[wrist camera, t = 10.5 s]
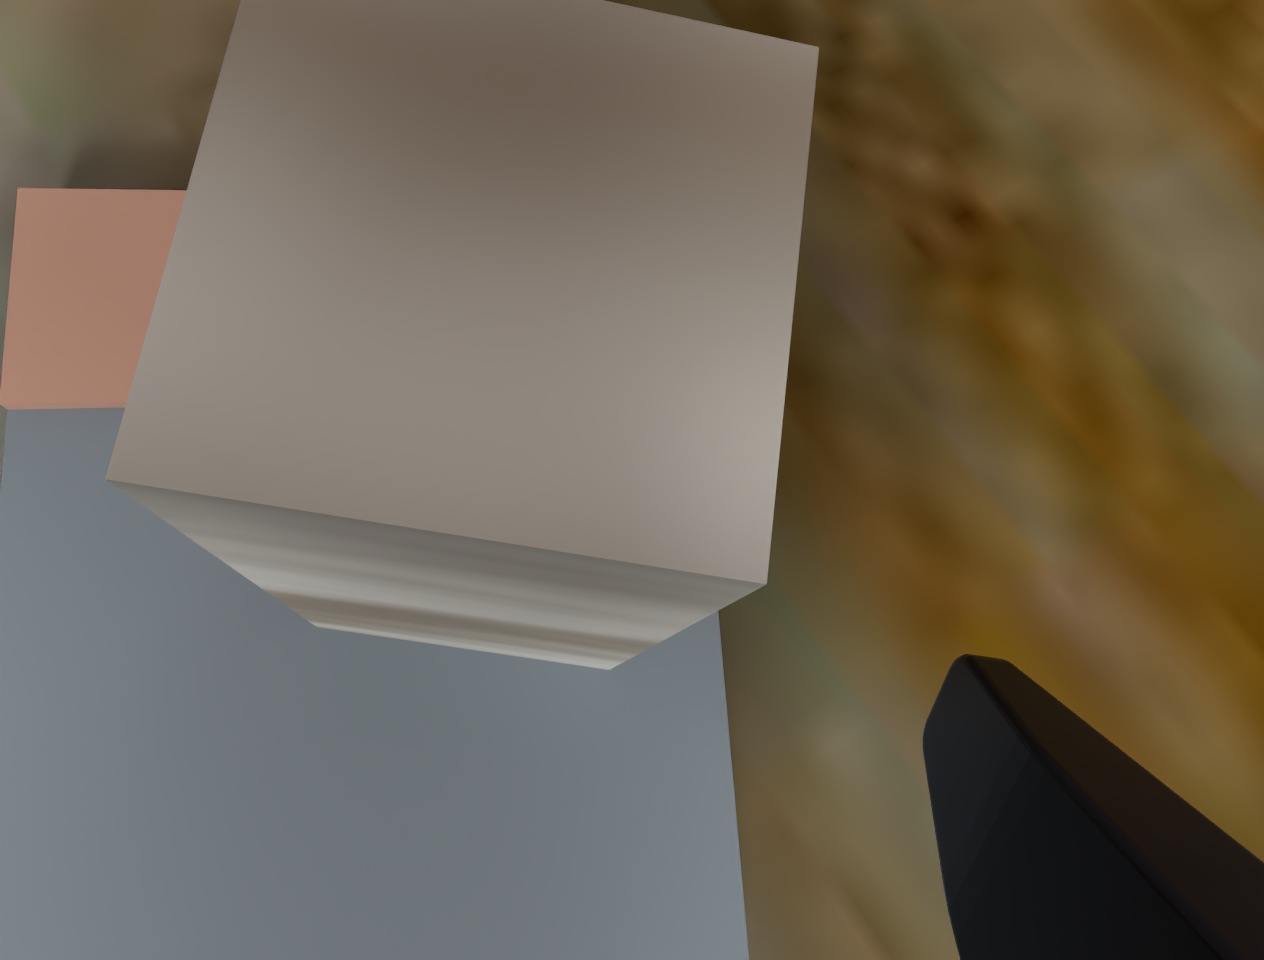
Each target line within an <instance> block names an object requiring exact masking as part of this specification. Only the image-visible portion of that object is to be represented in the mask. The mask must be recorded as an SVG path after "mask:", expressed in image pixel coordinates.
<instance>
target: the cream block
mask: <svg viewBox="0 0 1264 960" xmlns="http://www.w3.org/2000/svg"><path fill="white" fill-rule="evenodd" d="M818 53H819V47H816V46H811V45H807V44H802V43H797V42H793V41H788V40H784V39H779V38H775V37H770V36H765V35H761V34H756V33H752V32H747V31H742V30H738V29H733V28H729V27H724V26H720V25H715V24H710V23H706V22H701V21H697V20H692V19H688V18H683V17H678V16H674V15H669V14H665V13H660V12H655V11H651V10H646V9H642V8H637V7H633V6H628V5H623V4H619V3H614V2H610V1H605V0H241V1H240V4H239V8H238V11H237V15H236V18H235V22H234V25H233V29H232V32H231V36H230V39H229V43H228V46H227V50H226V54H225V57H224V61H223V64H222V68H221V71H220V75H219V78H218V82H217V85H216V89H215V92H214V96H213V99H212V103H211V106H210V110H209V114H208V117H207V121H206V124H205V128H204V131H203V135H202V138H201V142H200V145H199V149H198V152H197V156H196V159H195V163H194V167H193V170H192V174H191V177H190V181H189V184H188V188H187V191H186V195H185V198H184V202H183V205H182V209H181V212H180V216H179V220H178V223H177V227H176V230H175V234H174V237H173V241H172V244H171V248H170V251H169V255H168V258H167V262H166V265H165V269H164V272H163V276H162V280H161V283H160V287H159V290H158V294H157V297H156V301H155V304H154V308H153V311H152V315H151V318H150V322H149V325H148V329H147V333H146V336H145V340H144V343H143V347H142V350H141V354H140V357H139V361H138V364H137V368H136V371H135V375H134V378H133V382H132V385H131V389H130V393H129V396H128V400H127V403H126V407H125V410H124V414H123V417H122V421H121V424H120V428H119V431H118V435H117V438H116V442H115V446H114V449H113V453H112V456H111V460H110V463H109V467H108V470H107V474H106V477H105V480H107V481H108V482H110V483H111V484H113V485H114V486H115V487H117V488H118V489H120V490H121V491H123V492H124V493H125V494H127V495H128V496H130V497H131V498H133V499H134V500H135V501H137V502H138V503H140V504H141V505H143V506H144V507H145V508H147V509H148V510H150V511H151V512H153V513H154V514H156V515H157V516H158V517H160V518H161V519H163V520H164V521H166V522H167V523H168V524H170V525H171V526H173V527H174V528H176V529H177V530H178V531H180V532H181V533H183V534H184V535H186V536H187V537H188V538H190V539H191V540H193V541H194V542H196V543H197V544H198V545H200V546H201V547H203V548H204V549H206V550H207V551H208V552H210V553H211V554H213V555H214V556H216V557H217V558H218V559H220V560H221V561H223V562H224V563H226V564H227V565H228V566H230V567H231V568H233V569H234V570H236V571H237V572H239V573H240V574H241V575H243V576H244V577H246V578H247V579H249V580H250V581H251V582H253V583H254V584H256V585H257V586H259V587H260V588H261V589H263V590H264V591H266V592H267V593H269V594H270V595H271V596H273V597H274V598H276V599H277V600H279V601H280V602H281V603H283V604H284V605H286V606H287V607H289V608H290V609H291V610H293V611H294V612H296V613H297V614H299V615H300V616H301V617H303V618H304V619H306V620H307V621H309V622H310V623H312V624H313V625H314V626H316V627H320V628H327V629H334V630H341V631H347V632H354V633H361V634H368V635H375V636H381V637H388V638H395V639H402V640H409V641H415V642H422V643H429V644H436V645H443V646H449V647H456V648H463V649H470V650H477V651H483V652H490V653H497V654H504V655H511V656H517V657H524V658H531V659H538V660H545V661H551V662H558V663H565V664H572V665H579V666H586V667H592V668H599V669H606V670H610V669H612V668H614V667H616V666H617V665H619V664H621V663H623V662H625V661H627V660H628V659H630V658H632V657H634V656H636V655H638V654H640V653H641V652H643V651H645V650H647V649H649V648H651V647H652V646H654V645H656V644H658V643H660V642H662V641H663V640H665V639H667V638H669V637H671V636H673V635H674V634H676V633H678V632H680V631H682V630H684V629H685V628H687V627H689V626H691V625H693V624H695V623H696V622H698V621H700V620H702V619H704V618H706V617H707V616H709V615H711V614H713V613H715V612H717V611H718V610H720V609H722V608H724V607H726V606H728V605H730V604H731V603H733V602H735V601H737V600H739V599H741V598H742V597H744V596H746V595H748V594H750V593H752V592H753V591H755V590H757V589H759V588H761V587H763V586H764V585H766V584H767V576H768V566H769V555H770V545H771V535H772V525H773V514H774V504H775V494H776V484H777V473H778V463H779V453H780V443H781V432H782V422H783V412H784V402H785V391H786V381H787V371H788V361H789V350H790V340H791V330H792V320H793V309H794V299H795V289H796V279H797V268H798V258H799V248H800V238H801V227H802V217H803V207H804V197H805V186H806V176H807V166H808V155H809V145H810V135H811V125H812V114H813V104H814V94H815V84H816V73H817V63H818Z"/></svg>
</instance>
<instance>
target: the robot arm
mask: <svg viewBox="0 0 1264 960" xmlns="http://www.w3.org/2000/svg"><path fill="white" fill-rule="evenodd" d="M923 754H924V760H925V767H926V773H927V780H928V787H929V793H930V800H931V806H932V813H933V819H934V826H935V833H936V839H937V846H938V852H939V859H940V866H941V872H942V879H943V885H944V890H945V896H946V901H947V907H948V912H949V916H950V920H951V924H952V928H953V933H954V937H955V941H956V945H957V948H958V952H959V956H960V960H1264V862H1262V861H1261V860H1260V859H1258V858H1257V857H1256V856H1255V855H1253V854H1252V853H1251V852H1250V851H1248V850H1247V849H1246V848H1245V847H1243V846H1242V845H1241V844H1239V843H1238V842H1237V841H1236V840H1234V839H1233V838H1232V837H1231V836H1229V835H1228V834H1227V833H1226V832H1224V831H1223V830H1222V829H1220V828H1219V827H1218V826H1217V825H1215V824H1214V823H1213V822H1212V821H1210V820H1209V819H1208V818H1207V817H1205V816H1204V815H1203V814H1201V813H1200V812H1199V811H1198V810H1196V809H1195V808H1194V807H1193V806H1191V805H1190V804H1189V803H1188V802H1186V801H1185V800H1184V799H1182V798H1181V797H1180V796H1179V795H1177V794H1176V793H1175V792H1174V791H1172V790H1171V789H1170V788H1169V787H1167V786H1166V785H1165V784H1163V783H1162V782H1161V781H1160V780H1158V779H1157V778H1156V777H1155V776H1153V775H1152V774H1151V773H1150V772H1148V771H1147V770H1146V769H1144V768H1143V767H1142V766H1141V765H1139V764H1138V763H1137V762H1136V761H1134V760H1133V759H1132V758H1131V757H1129V756H1128V755H1127V754H1126V753H1124V752H1123V751H1122V750H1120V749H1119V748H1118V747H1117V746H1115V745H1114V744H1113V743H1112V742H1110V741H1109V740H1108V739H1107V738H1105V737H1104V736H1103V735H1101V734H1100V733H1099V732H1098V731H1096V730H1095V729H1094V728H1093V727H1091V726H1090V725H1089V724H1088V723H1086V722H1085V721H1084V720H1082V719H1081V718H1080V717H1079V716H1077V715H1076V714H1075V713H1074V712H1072V711H1071V710H1070V709H1069V708H1067V707H1066V706H1065V705H1063V704H1062V703H1061V702H1060V701H1058V700H1057V699H1056V698H1055V697H1053V696H1052V695H1051V694H1050V693H1048V692H1047V691H1046V690H1045V689H1043V688H1042V687H1041V686H1039V685H1038V684H1037V683H1036V682H1034V681H1033V680H1032V679H1031V678H1029V677H1028V676H1027V675H1026V674H1024V673H1023V672H1022V671H1020V670H1019V669H1018V668H1017V667H1015V666H1014V665H1013V664H1011V663H1010V662H1008V661H1006V660H1003V659H998V658H991V657H984V656H977V655H970V654H965V655H962V656H960V657H958V658H957V659H956V660H955V661H954V662H953V664H952V666H951V667H950V669H949V671H948V674H947V676H946V678H945V680H944V683H943V685H942V687H941V689H940V692H939V694H938V696H937V698H936V701H935V703H934V705H933V707H932V710H931V712H930V714H929V716H928V719H927V721H926V724H925V728H924V733H923Z"/></svg>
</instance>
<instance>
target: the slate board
mask: <svg viewBox="0 0 1264 960" xmlns="http://www.w3.org/2000/svg"><path fill="white" fill-rule="evenodd" d="M186 191H187V190H129V189H57V188H18V191H17V203H16V214H15V226H14V238H13V249H12V261H11V272H10V284H9V295H8V307H7V319H6V330H5V342H4V353H3V365H2V376H1V388H0V405H1V406H3V407H4V408H6V409H7V418H6V430H5V441H4V453H3V465H2V477H1V489H0V960H749V953H748V941H747V930H746V919H745V908H744V896H743V885H742V874H741V862H740V851H739V840H738V829H737V817H736V806H735V795H734V783H733V772H732V761H731V749H730V738H729V727H728V716H727V704H726V693H725V682H724V670H723V659H722V648H721V637H720V625H719V614H718V611H717V612H715V613H713V614H711V615H709V616H707V617H706V618H704V619H702V620H700V621H698V622H696V623H695V624H693V625H691V626H689V627H687V628H685V629H684V630H682V631H680V632H678V633H676V634H674V635H673V636H671V637H669V638H667V639H665V640H663V641H662V642H660V643H658V644H656V645H654V646H652V647H651V648H649V649H647V650H645V651H643V652H641V653H640V654H638V655H636V656H634V657H632V658H630V659H628V660H627V661H625V662H623V663H621V664H619V665H617V666H616V667H614V668H612V669H610V670H606V669H599V668H592V667H586V666H579V665H572V664H565V663H558V662H551V661H545V660H538V659H531V658H524V657H517V656H511V655H504V654H497V653H490V652H483V651H477V650H470V649H463V648H456V647H449V646H443V645H436V644H429V643H422V642H415V641H409V640H402V639H395V638H388V637H381V636H375V635H368V634H361V633H354V632H347V631H341V630H334V629H327V628H320V627H316V626H314V625H313V624H312V623H310V622H309V621H307V620H306V619H304V618H303V617H301V616H300V615H299V614H297V613H296V612H294V611H293V610H291V609H290V608H289V607H287V606H286V605H284V604H283V603H281V602H280V601H279V600H277V599H276V598H274V597H273V596H271V595H270V594H269V593H267V592H266V591H264V590H263V589H261V588H260V587H259V586H257V585H256V584H254V583H253V582H251V581H250V580H249V579H247V578H246V577H244V576H243V575H241V574H240V573H239V572H237V571H236V570H234V569H233V568H231V567H230V566H228V565H227V564H226V563H224V562H223V561H221V560H220V559H218V558H217V557H216V556H214V555H213V554H211V553H210V552H208V551H207V550H206V549H204V548H203V547H201V546H200V545H198V544H197V543H196V542H194V541H193V540H191V539H190V538H188V537H187V536H186V535H184V534H183V533H181V532H180V531H178V530H177V529H176V528H174V527H173V526H171V525H170V524H168V523H167V522H166V521H164V520H163V519H161V518H160V517H158V516H157V515H156V514H154V513H153V512H151V511H150V510H148V509H147V508H145V507H144V506H143V505H141V504H140V503H138V502H137V501H135V500H134V499H133V498H131V497H130V496H128V495H127V494H125V493H124V492H123V491H121V490H120V489H118V488H117V487H115V486H114V485H113V484H111V483H110V482H108V481H107V480H105V477H106V474H107V470H108V467H109V463H110V460H111V456H112V453H113V449H114V446H115V442H116V438H117V435H118V431H119V428H120V424H121V421H122V417H123V414H124V410H125V407H126V403H127V400H128V396H129V393H130V389H131V385H132V382H133V378H134V375H135V371H136V368H137V364H138V361H139V357H140V354H141V350H142V347H143V343H144V340H145V336H146V333H147V329H148V325H149V322H150V318H151V315H152V311H153V308H154V304H155V301H156V297H157V294H158V290H159V287H160V283H161V280H162V276H163V272H164V269H165V265H166V262H167V258H168V255H169V251H170V248H171V244H172V241H173V237H174V234H175V230H176V227H177V223H178V220H179V216H180V212H181V209H182V205H183V202H184V198H185V195H186Z"/></svg>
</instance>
